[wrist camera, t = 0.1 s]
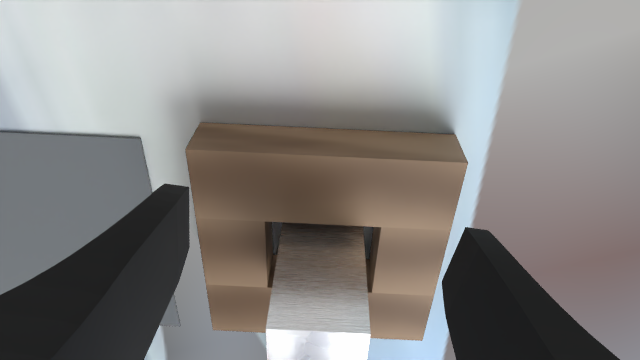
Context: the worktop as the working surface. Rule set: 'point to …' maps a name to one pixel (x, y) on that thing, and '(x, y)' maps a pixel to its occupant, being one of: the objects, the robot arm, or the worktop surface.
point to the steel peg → (319, 295)
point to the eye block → (323, 212)
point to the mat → (64, 198)
